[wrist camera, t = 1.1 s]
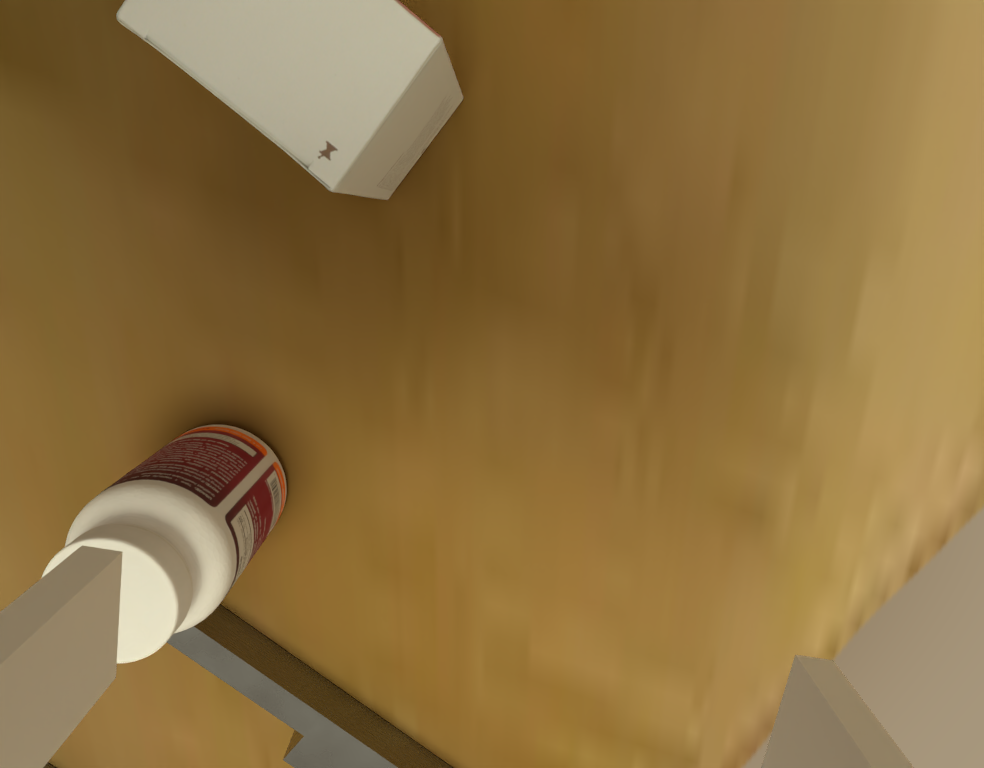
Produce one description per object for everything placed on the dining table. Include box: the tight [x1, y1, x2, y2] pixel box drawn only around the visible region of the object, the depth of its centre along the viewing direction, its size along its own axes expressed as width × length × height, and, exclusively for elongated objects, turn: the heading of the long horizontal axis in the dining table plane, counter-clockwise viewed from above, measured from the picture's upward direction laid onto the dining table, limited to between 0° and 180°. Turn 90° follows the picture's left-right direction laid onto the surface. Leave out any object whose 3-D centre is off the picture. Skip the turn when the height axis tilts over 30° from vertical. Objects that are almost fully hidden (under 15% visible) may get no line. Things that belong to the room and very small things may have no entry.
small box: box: [116, 0, 463, 200], centre depth 26 cm, size 8×6×10 cm
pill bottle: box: [42, 425, 287, 663], centre depth 29 cm, size 6×6×11 cm
